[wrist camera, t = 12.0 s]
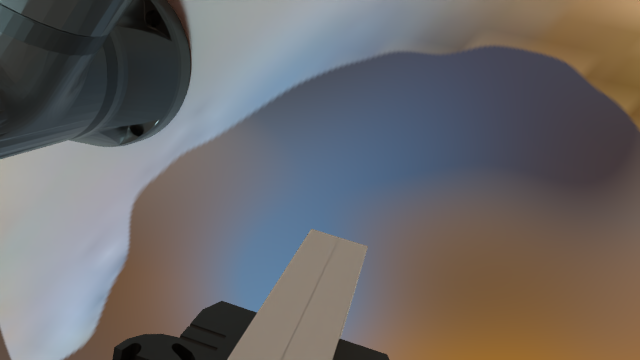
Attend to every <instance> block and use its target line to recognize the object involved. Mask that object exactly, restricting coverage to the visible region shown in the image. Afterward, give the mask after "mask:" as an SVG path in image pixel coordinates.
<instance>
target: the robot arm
mask: <svg viewBox="0 0 640 360" xmlns="http://www.w3.org/2000/svg"><path fill="white" fill-rule="evenodd" d="M189 80H190V52H189V46H188V42H187V38H186V35H185V32H184V29H183V27H182V25H181V22H180V20H179V19H178V17H177V15H176V13H175V12H174V10H173V9H172V7H171V6H170V4H169V3H168V2H167V1H166V0H0V159H3V158H7V157H10V156H14V155H17V154H21V153H24V152H28V151H32V150H35V149H39V148H42V147H46V146H49V145H53V144H57V143H60V142H63V141H67V140H70V141H75V142H80V143H85V144H90V145H95V146H102V147H116V146H124V145H128V144H132V143H135V142H138V141H141V140H144V139H146V138H149V137H151V136H153V135H155V134H156V133H158V132H159V131H161V130H162V129H163V128H164V127H165V126H167V125H168V124H169V123H170V121H171V120H172V119H173V118H174V117H175V115H176V114H177V112H178V111H179V109H180V107H181V105H182V103H183V101H184V99H185V96H186V93H187V90H188V85H189ZM367 248H368V247H367V246H365V245H362V244H358V243H355V242H352V241H349V240H346V239H342V238H339V237H336V236H333V235H330V234H326V233H323V232H320V231H317V230H314V229H311V230H310V232H309V234H308V235H307V237H306V238H305V240H304V241H303V243H302V244H301V246H300V247H299V249H298V251H297V252H296V254H295V255H294V257H293V258H292V260H291V261H290V263H289V264H288V266H287V268H286V269H285V271H284V272H283V274H282V275H281V277H280V278H279V280H278V282H277V283H276V285H275V286H274V288H273V289H272V291H271V292H270V294H269V296H268V297H267V299H266V300H265V302H264V303H263V305H262V306H261V308H260V309H259V311H258V312H257V313H256V312H253V311H250V310H247V309H244V308H241V307H238V306H235V305H232V304H229V303H227V302H223V301H221V302H218V303H216V304H214V305H212V306H210V307H207V308H205V309H203V310H202V311H201V312H200V313H199V314H198V316H197V317H196V318H195V319H194V320H193V321H192V323H191V324H190V327H189V326H188V327H187V329H186V330H185V331H184V332H183V333H182V334H181V336H180V338H178V337H174V336H169V335H164V334H144V335H140V336H136V337H133V338H129V339H127V340H125V341H123V342H122V343H120V344H119V345H117V346H116V347H115V348H114V354H113V360H389V358H388V356H387V355H386V354H384V353H381V352H378V351H375V350H372V349H369V348H366V347H363V346H360V345H357V344H354V343H351V342H348V341H345V340H342V339H341V335H342V332H343V329H344V325H345V322H346V318H347V315H348V312H349V308H350V305H351V302H352V298H353V295H354V291H355V288H356V285H357V281H358V278H359V275H360V271H361V268H362V264H363V261H364V258H365V254H366V251H367Z"/></svg>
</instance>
